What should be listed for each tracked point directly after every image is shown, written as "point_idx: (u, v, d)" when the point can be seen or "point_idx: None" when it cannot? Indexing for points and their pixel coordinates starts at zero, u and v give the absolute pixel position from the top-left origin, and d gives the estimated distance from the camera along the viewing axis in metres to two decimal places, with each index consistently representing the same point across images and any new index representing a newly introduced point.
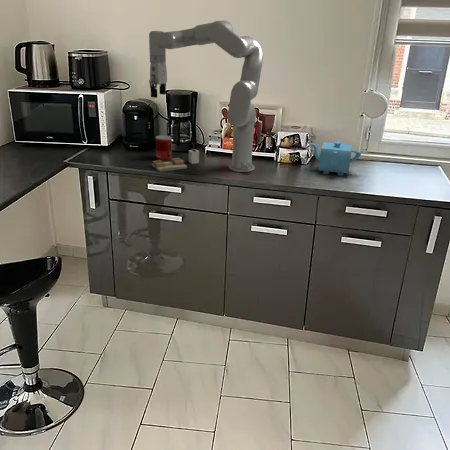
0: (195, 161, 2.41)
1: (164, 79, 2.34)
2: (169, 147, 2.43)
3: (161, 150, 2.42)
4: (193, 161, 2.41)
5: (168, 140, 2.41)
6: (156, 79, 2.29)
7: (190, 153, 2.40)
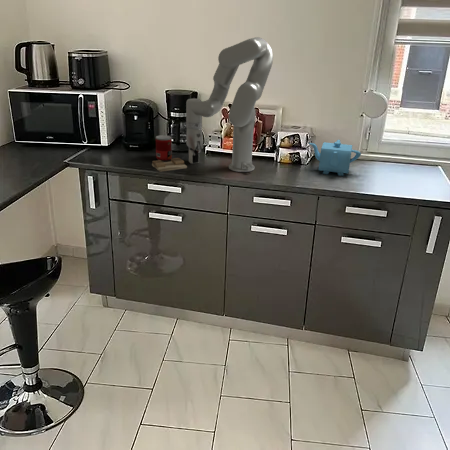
0: None
1: None
2: (169, 147, 2.43)
3: (161, 150, 2.42)
4: None
5: (168, 140, 2.41)
6: (200, 147, 2.37)
7: (190, 153, 2.40)
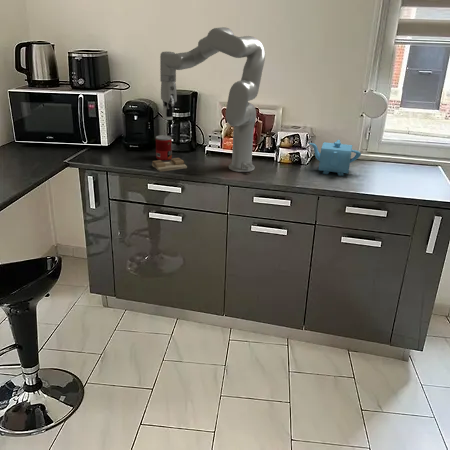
0: (169, 117, 2.45)
1: None
2: (169, 147, 2.43)
3: (161, 150, 2.42)
4: (167, 117, 2.44)
5: (168, 140, 2.41)
6: (174, 101, 2.40)
7: (164, 109, 2.44)
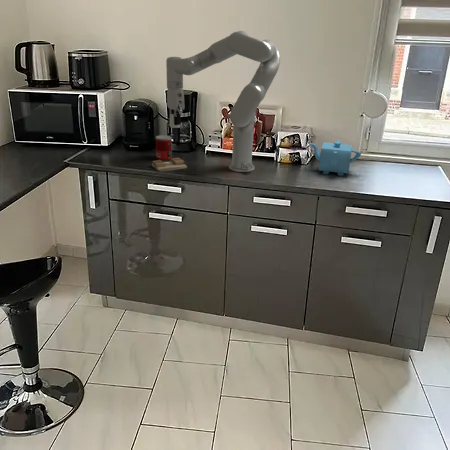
0: (176, 125, 2.34)
1: None
2: (169, 147, 2.43)
3: (161, 150, 2.42)
4: (174, 125, 2.34)
5: (168, 140, 2.41)
6: (182, 108, 2.30)
7: (171, 116, 2.33)
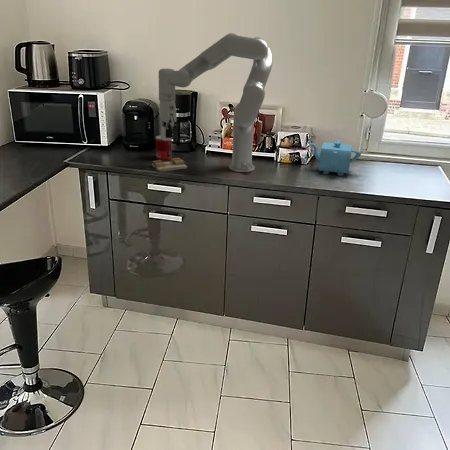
0: (168, 138, 2.29)
1: None
2: (169, 147, 2.43)
3: (161, 150, 2.42)
4: (166, 138, 2.28)
5: (168, 140, 2.41)
6: (174, 121, 2.24)
7: (163, 129, 2.27)
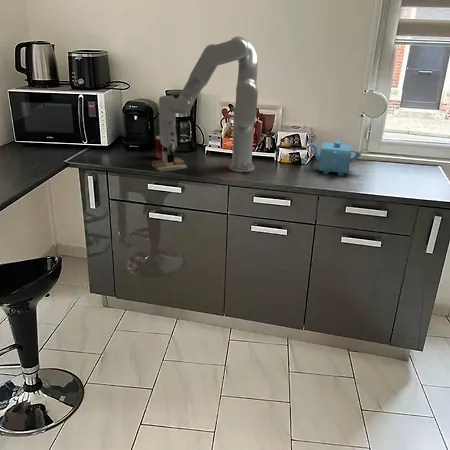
0: (169, 163, 2.34)
1: None
2: None
3: (161, 150, 2.42)
4: (166, 163, 2.33)
5: None
6: (174, 145, 2.29)
7: (163, 154, 2.33)
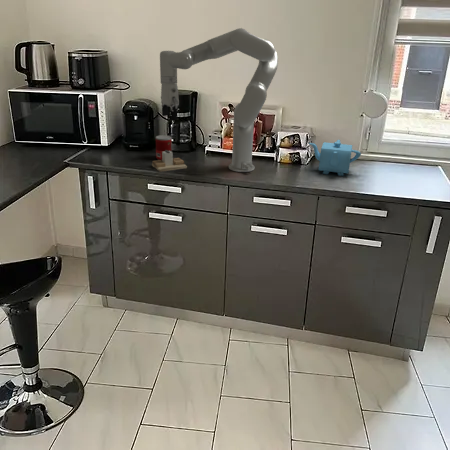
0: (169, 163, 2.34)
1: None
2: (169, 147, 2.43)
3: (161, 150, 2.42)
4: (166, 163, 2.33)
5: (168, 140, 2.41)
6: (177, 100, 2.21)
7: (163, 154, 2.33)
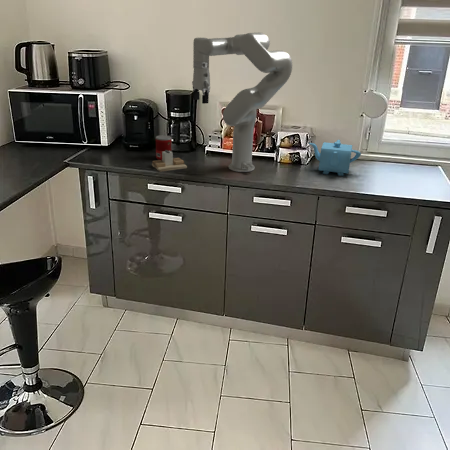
0: (169, 163, 2.34)
1: None
2: (169, 147, 2.43)
3: (161, 150, 2.42)
4: (166, 163, 2.33)
5: (168, 140, 2.41)
6: (208, 85, 2.33)
7: (163, 154, 2.33)
